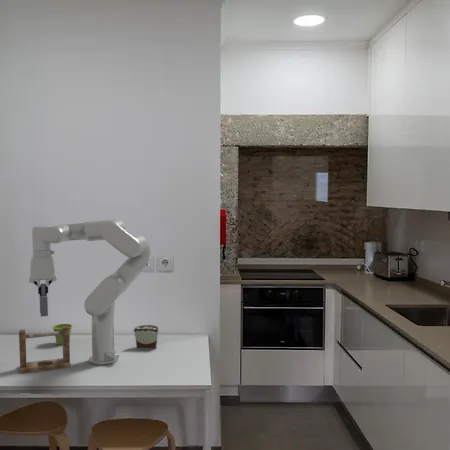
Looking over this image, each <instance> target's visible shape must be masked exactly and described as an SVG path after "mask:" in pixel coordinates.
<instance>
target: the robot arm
mask: <svg viewBox="0 0 450 450" xmlns="http://www.w3.org/2000/svg"><path fill="white" fill-rule="evenodd" d="M31 235H32V237H31V239H32V257H30V265H29V266H30V269H29V273H30V276H29V279H28V283H30V284H34V285H35V286H36V287H37V290H38V291H37V294H38V295H39V294H40V295H39V297H40V296H42V293H41V281H44V280H45V283H44V284H45V296H47V297H48V294H49V286H50V285H51V284H52V283H54V282H57V281H58V279H57V276H56V272H55V261H54V257H53V256H52V255H55V250H52V248H51V244H61V243H63V242H68V241H82V240H85V241H87V242H97V241H105V242H107V243H108V244H110V245H111V246H112V247H113V248H114V249H116V250H117V251H118V252H120V253H121V254H122V255H124V256H125V257H128V258H127V259H126V260H125V261H124V262H123V263H122V264H121V265H120V266H119V267H118V269H116V270H115V271H114V272H113V273H111V274H110V275H108V276H106V277H105V278H104V279H102V281H101V282H99V284H98V285H97V286H96V287H95V288H94V289H93V290H92V292H90V294H89V295H88V296H87V297H86V298H85V300H84V310H85V312H86V313H87V314H88V315H90V316H91V350H92V351H91V354H92V355H91V356H89V358H88V362H89V363H90V364H92V365H98V366H99V365H101V366H102V365H105V366H106V365H110V364H113V363H115V362H117V361H118V360H119V358H120V355H118V354H116V353H117V351H116V350H115V321H114V320H115V305H116V302H115V301H116V300H117V299H118V298H119V297H120V296H122V295H123V293H125V292H126V291H127V290H128V288H129V287H130V286H131V285H132V284H133V282H134V281H135V280H137V278H138V277H139V275H140V274H141V273H142V272H143V271H144V270H145V268H146V267H147V266H148V263H149V261H150V259H151V258H150V257H151V245H150V243H149V241H148V240H147V239H146V237H144V236H143V235H140V234H139V235H131V234H130V233H128V232H127V231H126V226H125V223H124V222H123V221H122V220H120V219H106V220H93V221H84V222H79V223H69V224H66V223H65V224H58V225H54V226H48V225H36V226H34V227H32V230H31Z"/></svg>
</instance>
